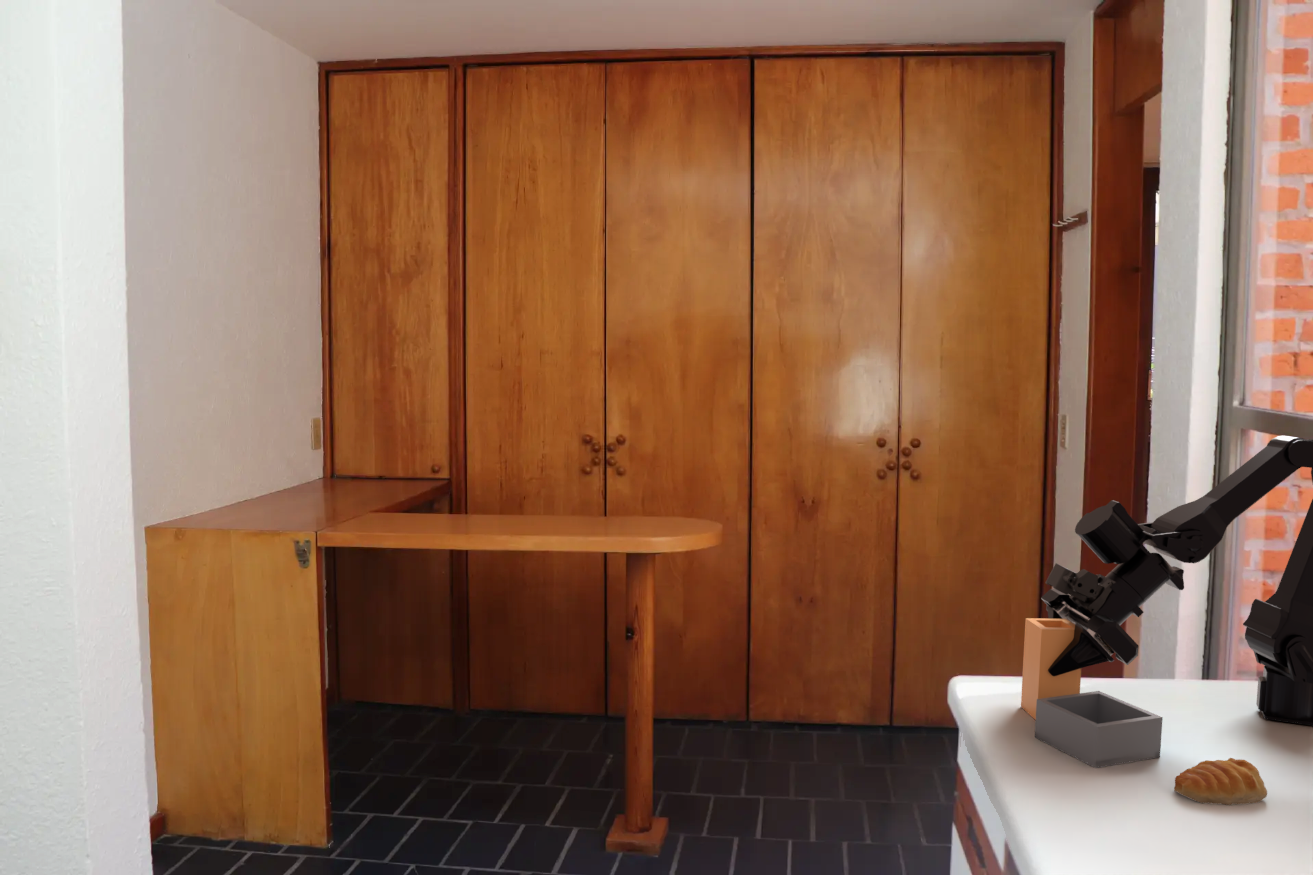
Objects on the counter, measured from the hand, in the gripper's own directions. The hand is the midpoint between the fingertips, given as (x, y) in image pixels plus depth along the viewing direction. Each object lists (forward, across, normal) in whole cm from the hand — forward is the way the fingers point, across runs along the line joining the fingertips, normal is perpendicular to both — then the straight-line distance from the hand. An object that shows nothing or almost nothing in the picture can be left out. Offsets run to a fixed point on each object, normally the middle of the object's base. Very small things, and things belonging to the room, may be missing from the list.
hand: (1041, 666), depth 141 cm
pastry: (-3, +25, +12) cm, 28 cm away
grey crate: (+3, +12, +6) cm, 14 cm away
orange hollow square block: (+4, 0, +6) cm, 7 cm away
